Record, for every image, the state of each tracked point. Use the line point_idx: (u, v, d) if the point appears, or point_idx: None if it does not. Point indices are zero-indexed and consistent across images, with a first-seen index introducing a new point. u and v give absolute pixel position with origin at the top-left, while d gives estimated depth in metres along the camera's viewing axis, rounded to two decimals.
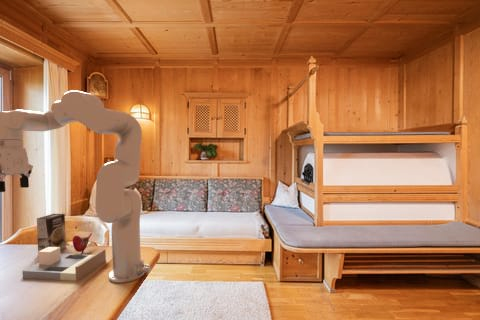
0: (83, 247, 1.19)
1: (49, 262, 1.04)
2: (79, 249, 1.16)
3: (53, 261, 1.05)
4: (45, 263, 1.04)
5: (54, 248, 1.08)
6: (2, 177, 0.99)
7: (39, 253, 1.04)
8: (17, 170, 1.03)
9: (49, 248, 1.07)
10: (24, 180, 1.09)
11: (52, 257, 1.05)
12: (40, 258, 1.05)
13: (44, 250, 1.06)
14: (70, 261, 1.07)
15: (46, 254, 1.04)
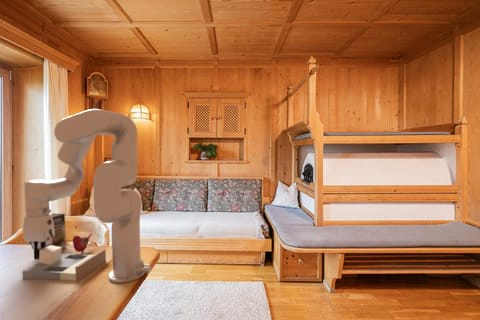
0: (83, 247, 1.19)
1: (49, 262, 1.04)
2: (79, 249, 1.16)
3: (53, 261, 1.05)
4: (45, 262, 1.04)
5: (56, 248, 1.07)
6: None
7: (40, 252, 1.04)
8: None
9: (50, 248, 1.07)
10: None
11: (53, 257, 1.05)
12: (41, 257, 1.05)
13: (46, 249, 1.05)
14: (70, 261, 1.07)
15: (47, 254, 1.04)
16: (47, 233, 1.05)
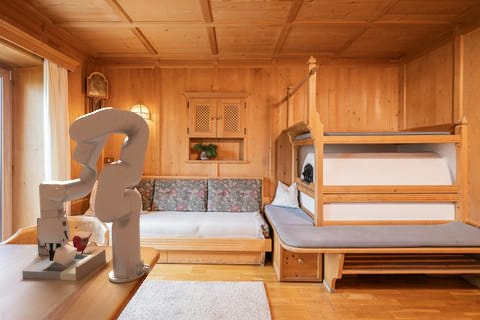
0: (83, 247, 1.19)
1: (63, 262, 1.04)
2: (79, 249, 1.16)
3: (67, 262, 1.05)
4: (59, 262, 1.04)
5: (71, 248, 1.07)
6: None
7: (56, 250, 1.04)
8: None
9: (66, 247, 1.06)
10: None
11: (68, 258, 1.04)
12: (56, 255, 1.04)
13: (62, 248, 1.05)
14: None
15: (63, 254, 1.03)
16: (62, 234, 1.04)
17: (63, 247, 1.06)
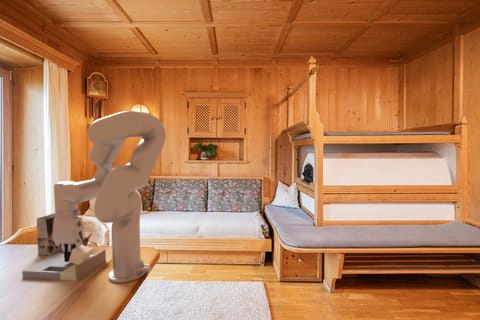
0: None
1: (80, 263, 1.03)
2: None
3: None
4: (76, 262, 1.03)
5: (87, 249, 1.06)
6: None
7: (73, 251, 1.03)
8: None
9: (82, 248, 1.06)
10: None
11: (84, 258, 1.04)
12: (72, 256, 1.03)
13: (78, 249, 1.04)
14: None
15: (79, 254, 1.03)
16: (77, 235, 1.03)
17: (79, 247, 1.05)
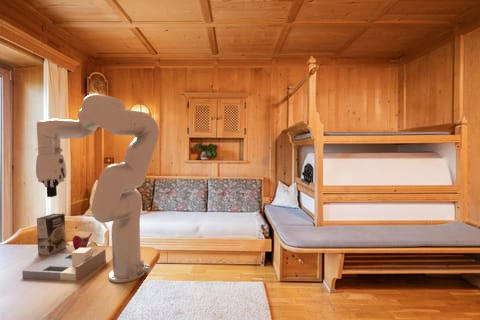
0: (83, 247, 1.19)
1: None
2: None
3: None
4: None
5: (86, 249, 1.06)
6: None
7: (72, 254, 1.03)
8: None
9: (81, 249, 1.06)
10: None
11: (86, 258, 1.04)
12: (73, 259, 1.03)
13: (77, 251, 1.04)
14: (70, 261, 1.07)
15: (80, 255, 1.03)
16: (59, 171, 1.09)
17: (78, 250, 1.05)
